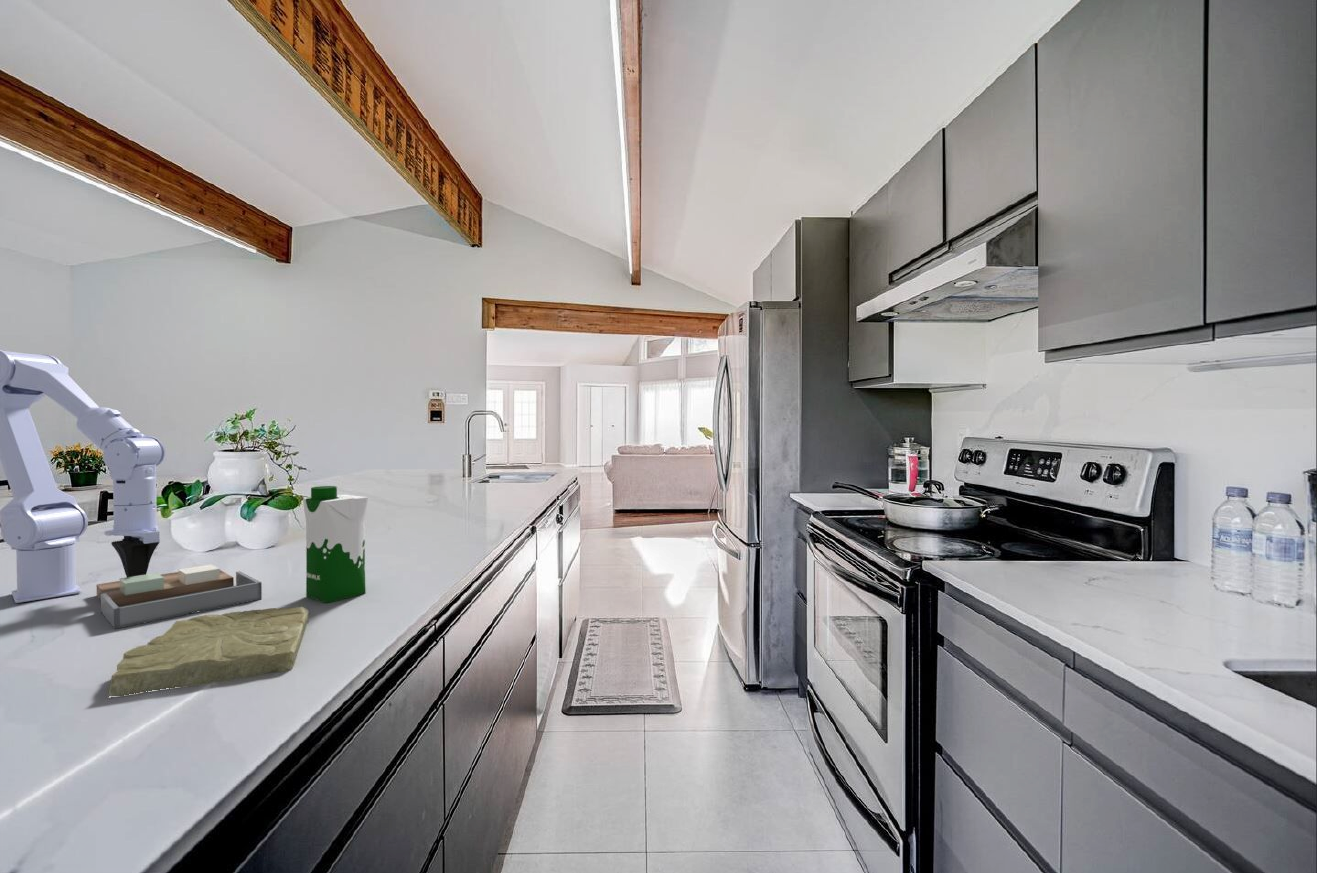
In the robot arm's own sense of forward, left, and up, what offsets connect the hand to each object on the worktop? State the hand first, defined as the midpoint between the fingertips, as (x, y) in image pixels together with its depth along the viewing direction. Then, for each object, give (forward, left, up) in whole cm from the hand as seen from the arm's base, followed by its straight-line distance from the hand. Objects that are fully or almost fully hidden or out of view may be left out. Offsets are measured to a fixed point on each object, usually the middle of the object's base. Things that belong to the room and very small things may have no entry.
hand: (136, 578), depth 102 cm
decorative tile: (+43, +2, -4) cm, 44 cm away
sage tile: (+5, 0, -1) cm, 5 cm away
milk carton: (+27, +23, -3) cm, 36 cm away
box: (+14, +4, -3) cm, 15 cm away
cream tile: (+5, +8, -1) cm, 9 cm away
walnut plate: (+1, +4, -3) cm, 5 cm away
